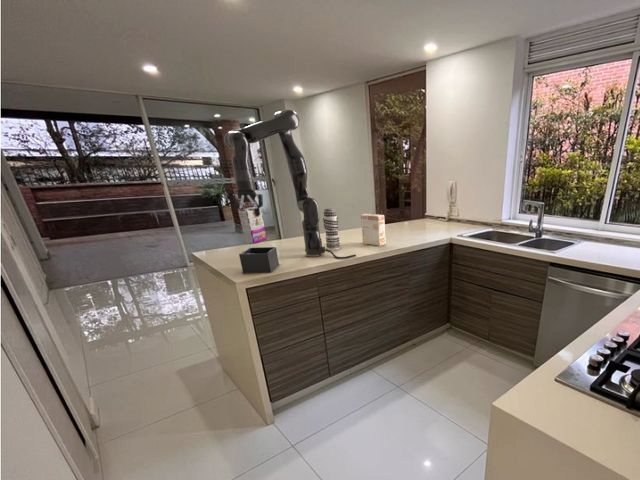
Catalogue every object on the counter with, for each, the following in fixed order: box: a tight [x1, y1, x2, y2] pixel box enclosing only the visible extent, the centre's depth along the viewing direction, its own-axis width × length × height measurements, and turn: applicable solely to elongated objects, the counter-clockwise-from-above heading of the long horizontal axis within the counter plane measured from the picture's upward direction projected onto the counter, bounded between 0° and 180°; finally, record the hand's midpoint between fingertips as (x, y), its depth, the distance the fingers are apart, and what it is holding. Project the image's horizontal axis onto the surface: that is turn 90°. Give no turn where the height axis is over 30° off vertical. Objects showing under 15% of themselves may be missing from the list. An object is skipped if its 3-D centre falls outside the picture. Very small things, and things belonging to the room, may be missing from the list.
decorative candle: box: [322, 207, 341, 251], centre depth 214 cm, size 9×9×25 cm
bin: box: [238, 246, 280, 274], centre depth 175 cm, size 14×15×10 cm
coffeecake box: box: [360, 213, 386, 247], centre depth 228 cm, size 15×7×20 cm, turn 58°
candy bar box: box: [237, 206, 268, 245], centre depth 168 cm, size 11×5×16 cm, turn 168°
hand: (251, 216), depth 166 cm, fingers closed on candy bar box, 5 cm apart
